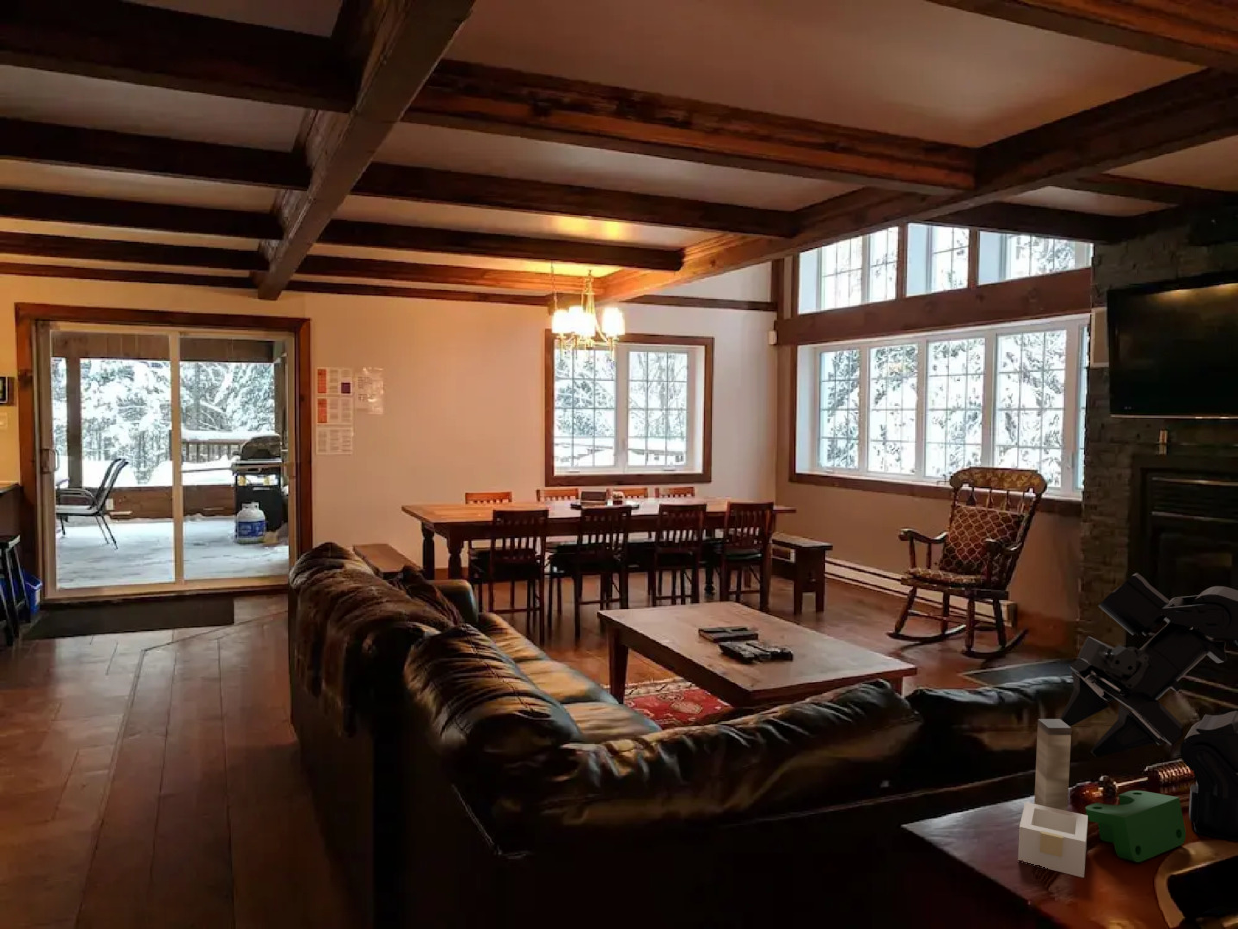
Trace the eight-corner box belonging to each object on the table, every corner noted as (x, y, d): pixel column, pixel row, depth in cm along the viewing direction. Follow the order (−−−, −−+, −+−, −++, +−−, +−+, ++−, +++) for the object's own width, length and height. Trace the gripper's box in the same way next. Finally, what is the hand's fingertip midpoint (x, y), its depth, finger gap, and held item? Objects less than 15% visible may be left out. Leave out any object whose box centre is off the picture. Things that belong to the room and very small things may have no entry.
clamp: (1137, 863, 115) (1142, 792, 118) (1183, 874, 110) (1187, 800, 112) (1077, 846, 110) (1083, 773, 113) (1121, 858, 105) (1127, 780, 108)
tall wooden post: (1055, 809, 120) (1059, 719, 119) (1066, 820, 117) (1071, 727, 116) (1034, 809, 120) (1038, 719, 119) (1044, 820, 117) (1048, 728, 116)
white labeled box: (1086, 849, 110) (1088, 814, 110) (1083, 880, 103) (1085, 843, 103) (1023, 834, 114) (1025, 801, 113) (1017, 863, 107) (1018, 828, 106)
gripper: (1086, 602, 126) (1006, 676, 127) (1163, 640, 107) (1068, 726, 108) (1139, 655, 126) (1059, 728, 128) (1224, 702, 108) (1130, 787, 109)
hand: (1076, 740), depth 118 cm, fingers open, 9 cm apart
